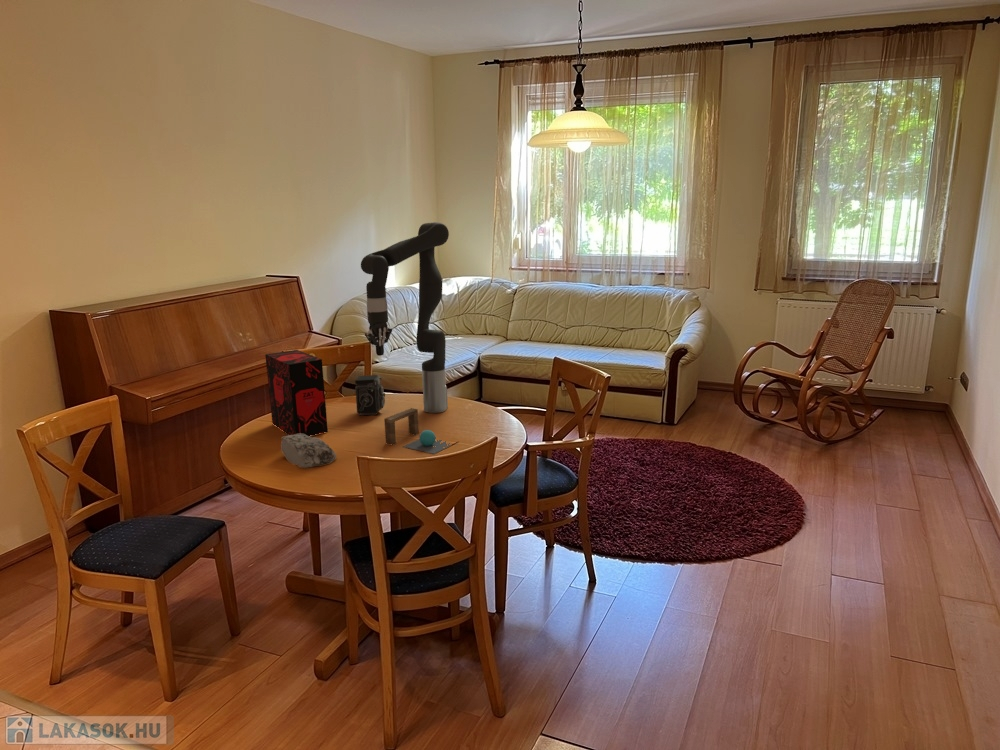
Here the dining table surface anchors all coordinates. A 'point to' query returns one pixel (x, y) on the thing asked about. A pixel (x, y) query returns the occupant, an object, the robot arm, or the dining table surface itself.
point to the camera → (369, 395)
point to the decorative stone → (306, 450)
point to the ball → (427, 438)
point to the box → (297, 392)
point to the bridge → (390, 421)
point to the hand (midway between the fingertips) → (380, 355)
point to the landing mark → (429, 449)
